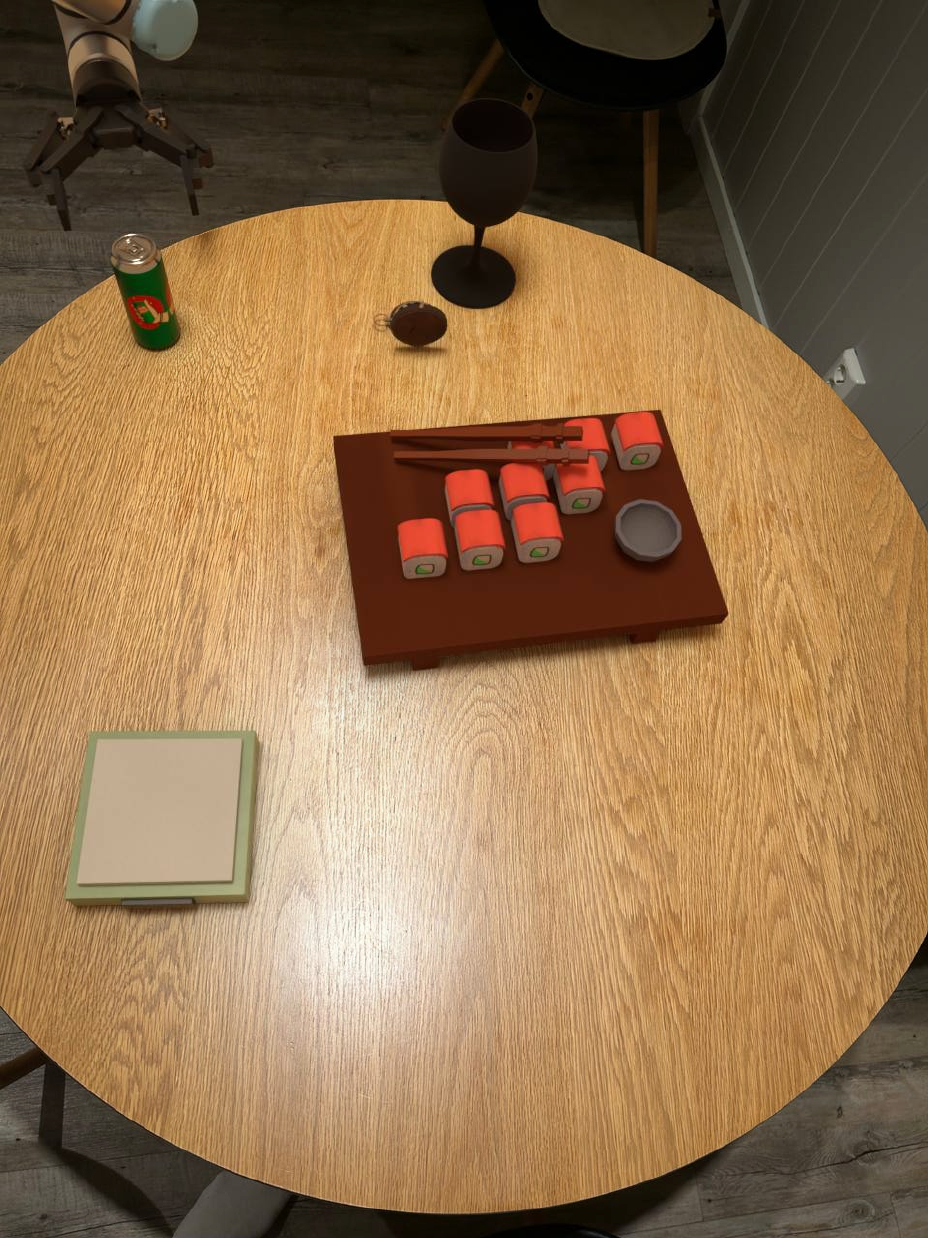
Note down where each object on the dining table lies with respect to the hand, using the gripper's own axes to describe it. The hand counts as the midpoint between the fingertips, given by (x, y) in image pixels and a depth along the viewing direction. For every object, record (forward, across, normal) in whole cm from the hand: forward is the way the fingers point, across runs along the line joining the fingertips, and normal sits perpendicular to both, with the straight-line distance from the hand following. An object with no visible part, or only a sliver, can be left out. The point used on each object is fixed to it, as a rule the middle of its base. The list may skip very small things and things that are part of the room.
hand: (130, 212), depth 101 cm
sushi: (+45, -31, -9) cm, 56 cm away
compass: (+14, -28, -9) cm, 32 cm away
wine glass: (+8, -38, -9) cm, 39 cm away
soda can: (+10, 0, -9) cm, 13 cm away
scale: (+65, +7, -8) cm, 65 cm away
